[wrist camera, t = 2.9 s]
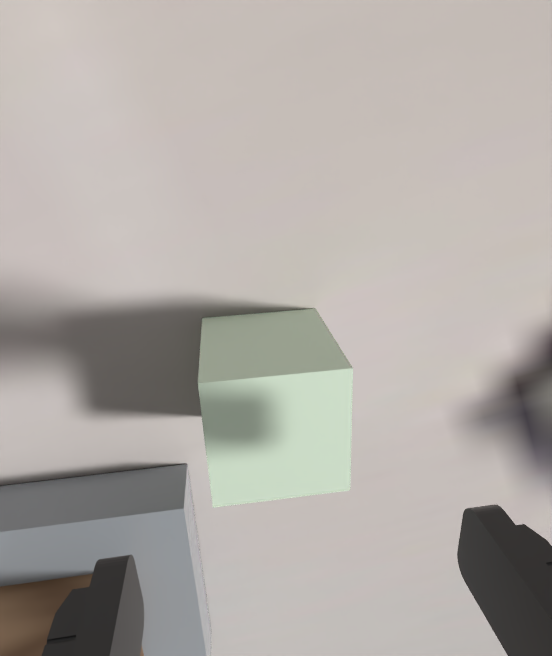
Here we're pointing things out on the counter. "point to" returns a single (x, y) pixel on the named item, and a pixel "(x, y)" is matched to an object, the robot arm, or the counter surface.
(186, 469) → the slate trivet
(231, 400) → the sage block
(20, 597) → the walnut block
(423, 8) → the counter surface
